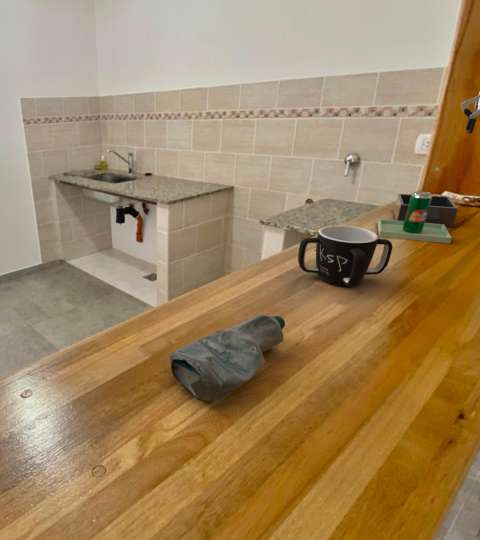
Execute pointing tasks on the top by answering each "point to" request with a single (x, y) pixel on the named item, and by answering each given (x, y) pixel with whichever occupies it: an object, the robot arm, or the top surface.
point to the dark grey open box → (438, 212)
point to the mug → (344, 254)
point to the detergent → (226, 356)
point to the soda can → (417, 212)
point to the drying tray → (428, 234)
